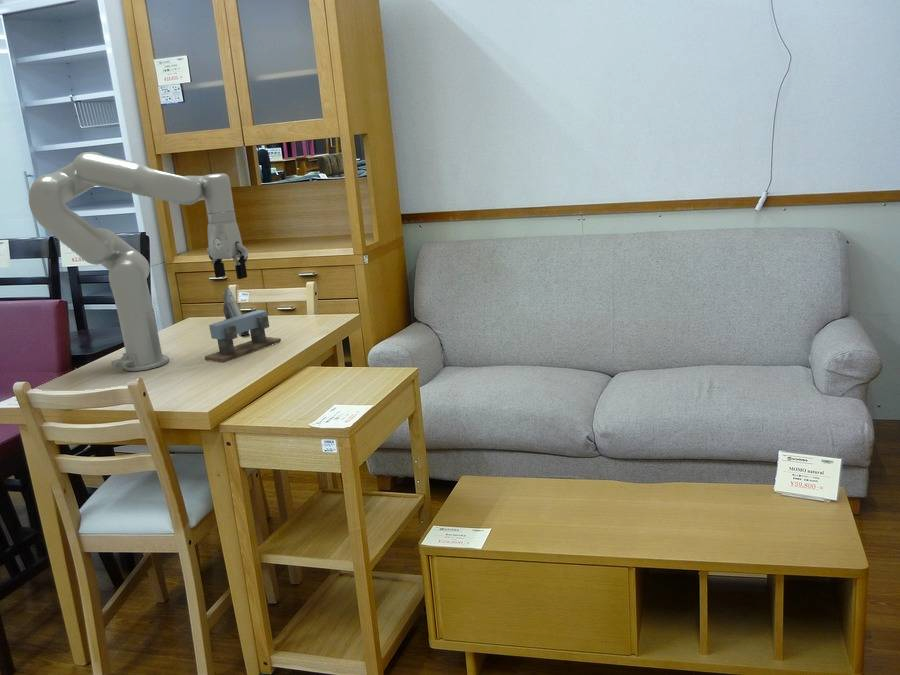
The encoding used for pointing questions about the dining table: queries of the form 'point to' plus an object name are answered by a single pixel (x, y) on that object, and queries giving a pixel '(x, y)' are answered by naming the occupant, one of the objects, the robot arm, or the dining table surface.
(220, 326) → the rail
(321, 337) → the dining table surface
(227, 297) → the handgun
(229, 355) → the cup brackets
